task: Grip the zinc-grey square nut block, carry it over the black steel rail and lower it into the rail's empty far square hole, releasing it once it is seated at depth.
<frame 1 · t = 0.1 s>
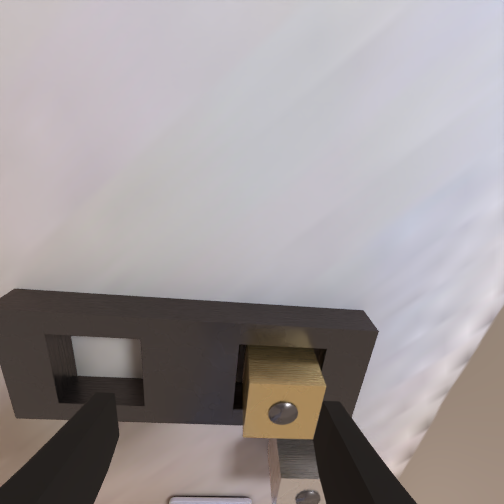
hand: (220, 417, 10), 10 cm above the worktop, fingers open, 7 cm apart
rail: (195, 351, 21), on the worktop
nut: (295, 432, 25), on the worktop
seated nut: (273, 354, 22), resting in rail
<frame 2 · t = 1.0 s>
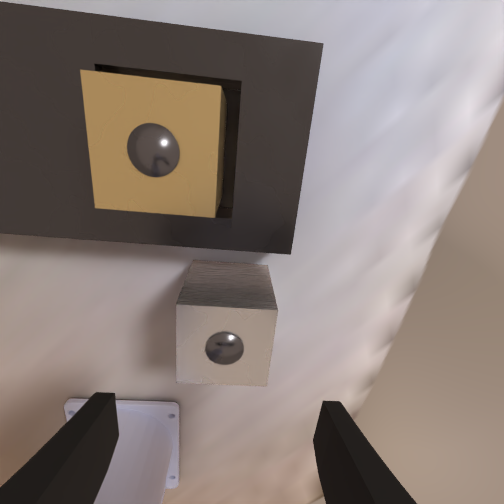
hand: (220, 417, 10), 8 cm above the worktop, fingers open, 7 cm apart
rail: (59, 136, 14), on the worktop
nut: (228, 294, 18), on the worktop
seated nut: (181, 148, 15), resting in rail
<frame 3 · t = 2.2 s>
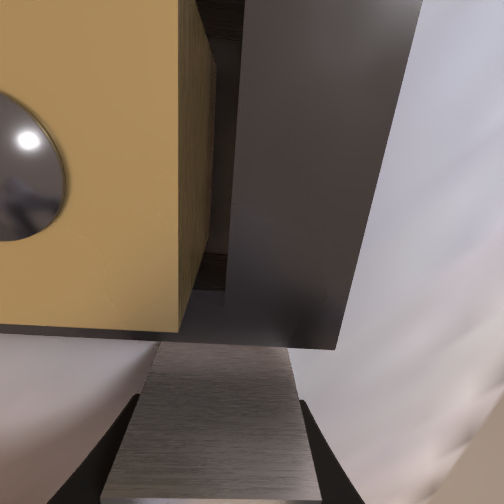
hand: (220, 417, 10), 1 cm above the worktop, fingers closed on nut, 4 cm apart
nut: (222, 384, 11), on the worktop, touching gripper
seated nut: (133, 151, 8), resting in rail
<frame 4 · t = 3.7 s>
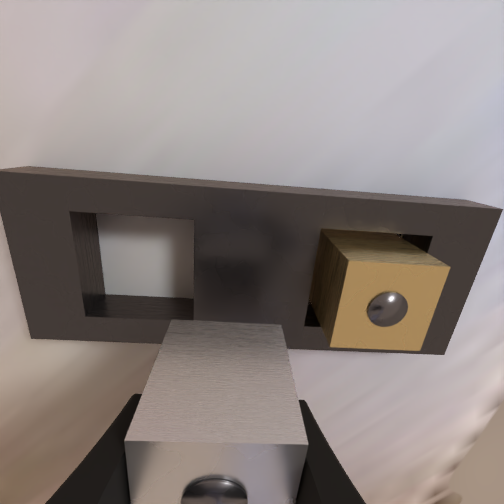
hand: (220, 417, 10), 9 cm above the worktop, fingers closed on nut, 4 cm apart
rail: (252, 259, 17), on the worktop
nut: (224, 365, 12), point 6 cm above the worktop, touching gripper
seated nut: (348, 264, 17), resting in rail
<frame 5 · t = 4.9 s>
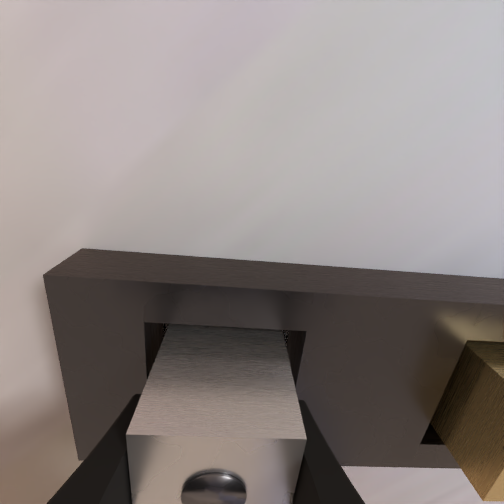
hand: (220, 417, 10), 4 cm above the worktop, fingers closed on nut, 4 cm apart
rail: (348, 352, 14), on the worktop
nut: (223, 362, 12), point 1 cm above the worktop, touching gripper
seated nut: (462, 357, 14), resting in rail
when the fingers open (3 cm above the worktop, at t = 5.5 s): nut stays where it is, resting in rail.
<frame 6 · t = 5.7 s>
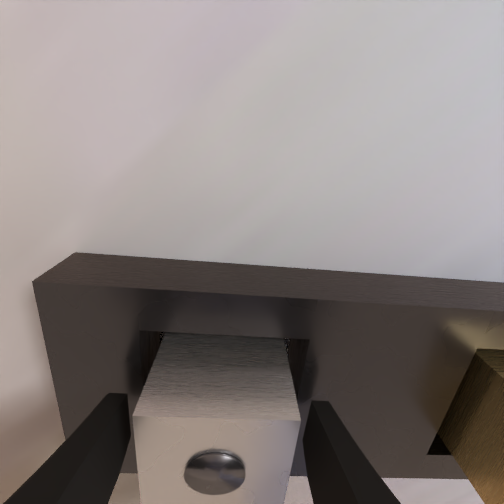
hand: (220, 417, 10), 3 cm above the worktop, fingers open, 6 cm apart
rail: (352, 359, 13), on the worktop
nut: (224, 353, 13), resting in rail
seated nut: (469, 363, 14), resting in rail
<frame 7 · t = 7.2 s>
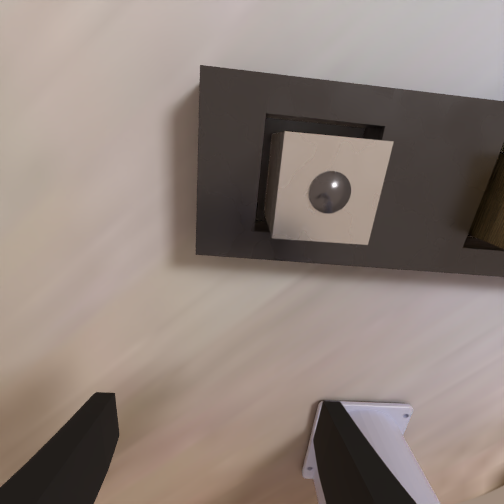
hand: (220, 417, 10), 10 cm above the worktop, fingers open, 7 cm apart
rail: (402, 185, 17), on the worktop
nut: (304, 178, 17), resting in rail
seated nut: (493, 193, 18), resting in rail
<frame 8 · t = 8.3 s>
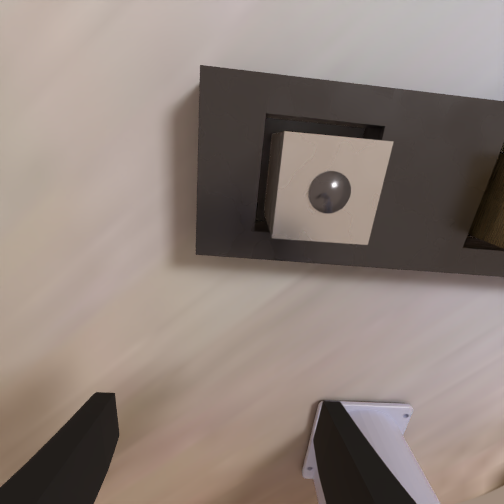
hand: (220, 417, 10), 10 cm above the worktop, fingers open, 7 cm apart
rail: (402, 185, 17), on the worktop
nut: (304, 178, 17), resting in rail
seated nut: (493, 193, 18), resting in rail
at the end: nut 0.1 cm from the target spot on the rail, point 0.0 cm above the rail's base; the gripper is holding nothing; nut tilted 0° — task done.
